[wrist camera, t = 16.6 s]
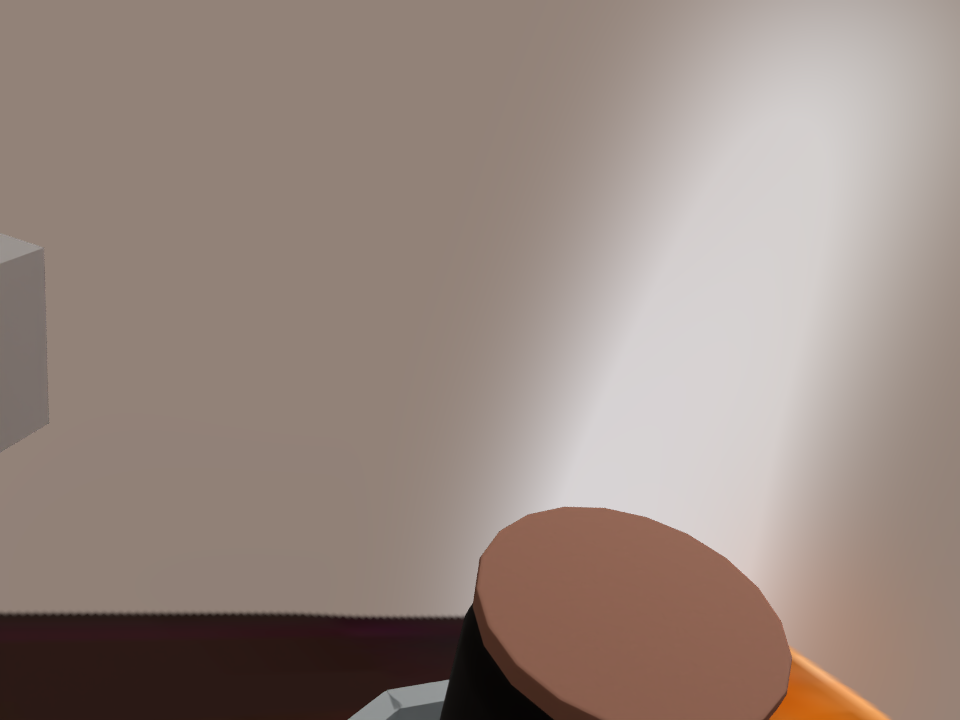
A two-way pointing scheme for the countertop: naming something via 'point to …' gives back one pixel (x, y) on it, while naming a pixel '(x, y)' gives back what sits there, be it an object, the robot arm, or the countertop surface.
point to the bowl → (407, 703)
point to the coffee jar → (613, 627)
